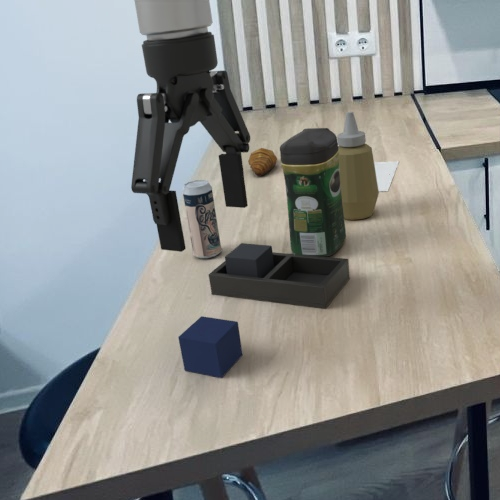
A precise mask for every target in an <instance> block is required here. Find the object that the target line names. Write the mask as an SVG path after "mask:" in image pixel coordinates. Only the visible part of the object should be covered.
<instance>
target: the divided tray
mask: <svg viewBox="0 0 500 500" xmlns="http://www.w3.org/2000/svg"><path fill="white" fill-rule="evenodd" d="M272 252H273V260H274V269H272V270H271V271H270V272H269V273H268V274H267V275H266V276H265V277H264V278H257V277H248V276H239V275H230V274H227V269H226V262H225V260H224V261H222V263H221V264H219V265H218V266H217V267H216V268H214V269H213V270H212V271H211V272H209V274H208V281H209V286H210V292H211V293H210V294H211V295H216V296H223V297H232V298H238V299H246V300H255V301H262V302H270V303H278V304H286V305H291V306H292V305H293V306H300V307H307V308H308V307H309V308H317V309H323V310H324V309H325V310H326V309H327V308H328V307H329V305H330V304H331V303H332V301H334V299H335V298H336V297H337V296H338V294H339V293H340V292H341V291H342V289H343V288H344V287H345V286H346V284H347V283H348V282H349V281H350V279H351V276H350V264H349V263H350V262H349V258H342V257H341V258H340V257H331V256H324V257H321V256H309V255H298V254H294V253H285V252H275V251H272Z"/></svg>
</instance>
